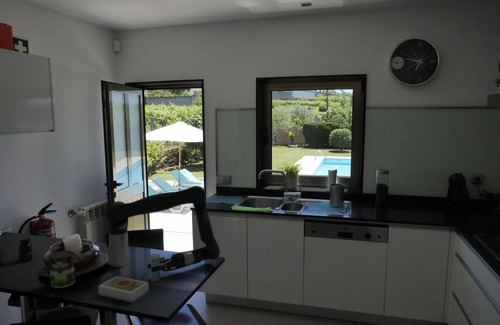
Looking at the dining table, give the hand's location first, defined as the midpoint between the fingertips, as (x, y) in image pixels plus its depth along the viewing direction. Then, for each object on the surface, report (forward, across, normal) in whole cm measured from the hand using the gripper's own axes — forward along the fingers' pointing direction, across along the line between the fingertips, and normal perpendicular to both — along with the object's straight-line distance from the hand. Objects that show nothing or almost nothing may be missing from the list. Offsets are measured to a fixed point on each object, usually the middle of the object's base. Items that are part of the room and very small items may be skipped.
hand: (149, 268), depth 168 cm
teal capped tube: (-3, 0, +6) cm, 7 cm away
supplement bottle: (+43, -67, +7) cm, 80 cm away
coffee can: (+33, -23, +7) cm, 41 cm away
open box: (+14, +4, +6) cm, 15 cm away
